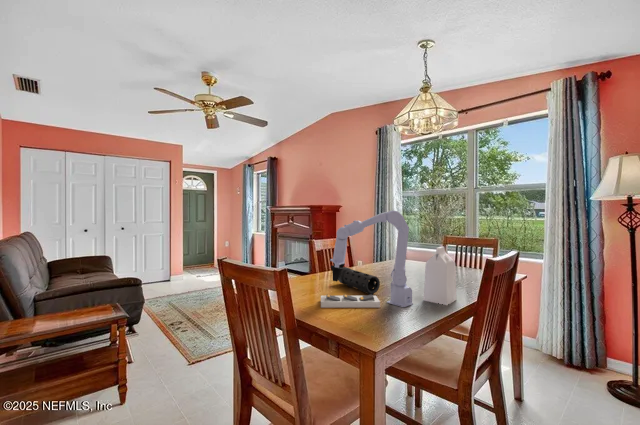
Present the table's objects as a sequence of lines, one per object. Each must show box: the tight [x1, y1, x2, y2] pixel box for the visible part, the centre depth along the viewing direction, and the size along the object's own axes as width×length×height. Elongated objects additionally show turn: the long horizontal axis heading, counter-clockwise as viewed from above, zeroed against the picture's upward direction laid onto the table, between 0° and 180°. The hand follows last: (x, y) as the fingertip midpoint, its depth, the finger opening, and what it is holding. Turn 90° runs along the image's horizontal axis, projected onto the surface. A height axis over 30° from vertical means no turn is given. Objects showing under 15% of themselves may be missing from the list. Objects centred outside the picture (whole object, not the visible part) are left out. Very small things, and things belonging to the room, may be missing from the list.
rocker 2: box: [360, 294, 374, 301], centre depth 144 cm, size 6×4×1 cm, turn 90°
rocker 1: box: [325, 294, 339, 301], centre depth 144 cm, size 6×4×1 cm, turn 90°
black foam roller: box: [337, 266, 381, 296], centre depth 171 cm, size 10×28×10 cm, turn 32°
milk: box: [422, 246, 457, 306], centre depth 151 cm, size 12×12×26 cm
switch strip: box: [320, 295, 381, 308], centre depth 145 cm, size 27×10×3 cm, turn 90°
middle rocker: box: [342, 293, 357, 301], centre depth 144 cm, size 6×4×1 cm, turn 90°
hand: (335, 279), depth 150 cm, fingers open, 7 cm apart
